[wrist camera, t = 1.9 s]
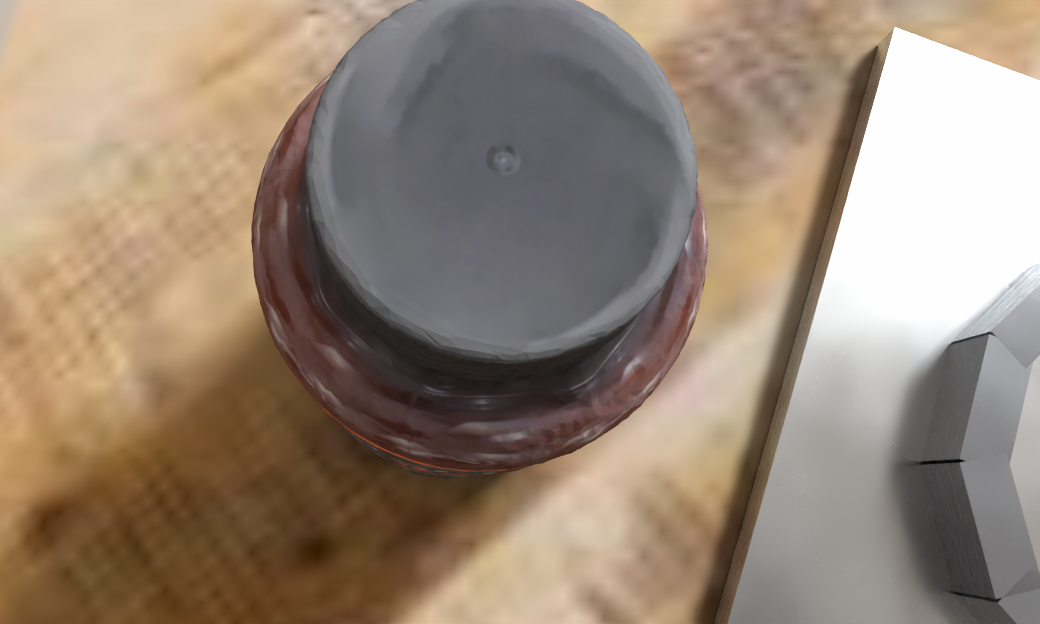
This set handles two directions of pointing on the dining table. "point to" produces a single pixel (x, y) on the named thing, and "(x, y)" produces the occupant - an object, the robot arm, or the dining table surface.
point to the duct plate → (912, 369)
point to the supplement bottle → (482, 234)
